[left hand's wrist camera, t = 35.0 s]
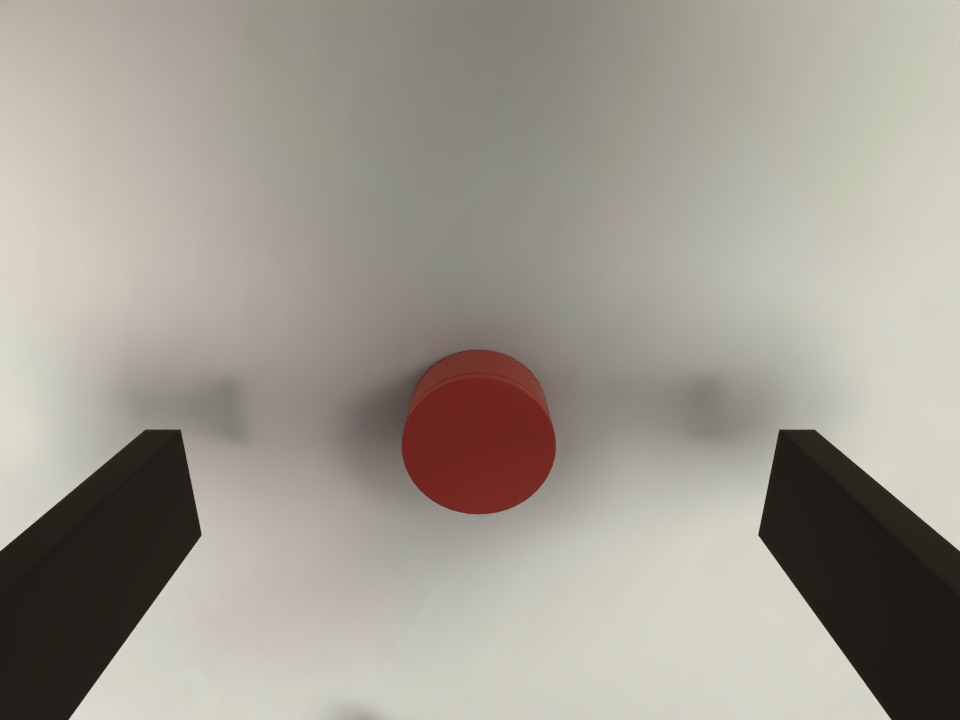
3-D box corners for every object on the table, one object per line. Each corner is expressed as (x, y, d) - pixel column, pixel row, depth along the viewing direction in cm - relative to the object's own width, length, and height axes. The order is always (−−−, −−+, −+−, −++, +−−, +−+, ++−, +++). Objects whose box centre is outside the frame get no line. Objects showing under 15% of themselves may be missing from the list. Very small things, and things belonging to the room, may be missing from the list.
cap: (404, 465, 17) (395, 505, 15) (417, 341, 16) (409, 368, 14) (534, 479, 17) (541, 522, 15) (557, 358, 16) (568, 388, 14)
